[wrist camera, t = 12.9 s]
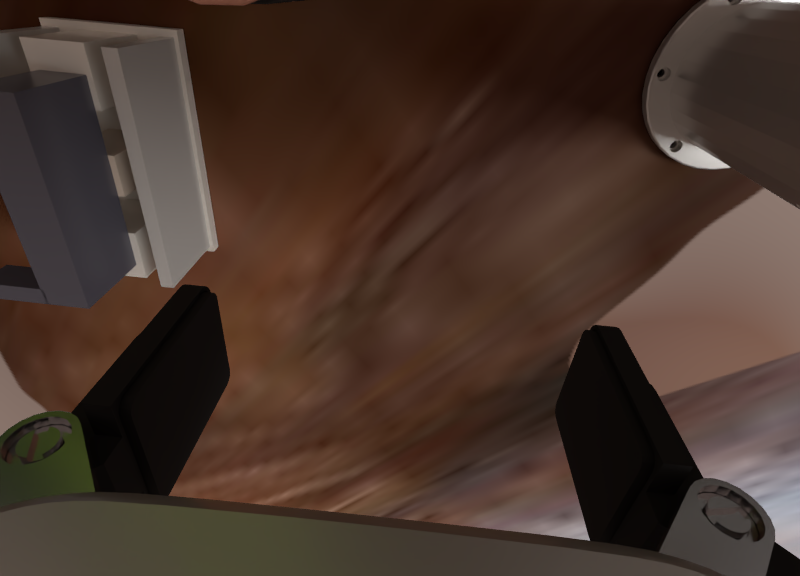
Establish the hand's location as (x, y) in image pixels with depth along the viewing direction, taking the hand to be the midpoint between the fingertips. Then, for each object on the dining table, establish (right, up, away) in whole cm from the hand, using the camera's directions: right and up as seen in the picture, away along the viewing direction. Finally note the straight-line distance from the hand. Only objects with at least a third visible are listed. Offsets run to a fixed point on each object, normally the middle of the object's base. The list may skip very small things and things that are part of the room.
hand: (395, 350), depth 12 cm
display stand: (-21, +14, +27) cm, 37 cm away
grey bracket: (-24, +10, +21) cm, 33 cm away
